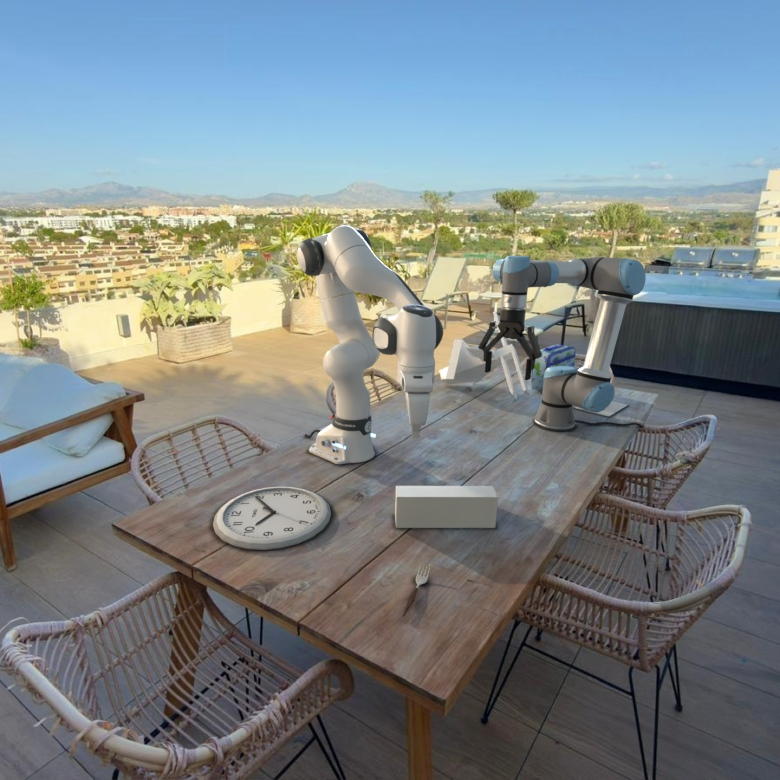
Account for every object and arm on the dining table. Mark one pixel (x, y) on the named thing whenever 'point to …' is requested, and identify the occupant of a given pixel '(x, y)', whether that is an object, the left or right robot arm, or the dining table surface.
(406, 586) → the dining table surface
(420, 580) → the fork
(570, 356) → the lunch box
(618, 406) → the invitation card
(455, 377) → the white plastic object
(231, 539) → the wall clock
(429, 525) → the bar
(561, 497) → the dining table surface
